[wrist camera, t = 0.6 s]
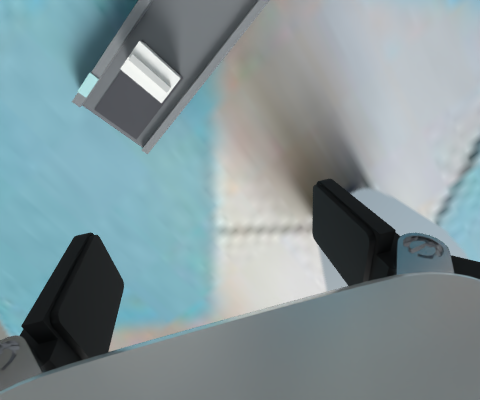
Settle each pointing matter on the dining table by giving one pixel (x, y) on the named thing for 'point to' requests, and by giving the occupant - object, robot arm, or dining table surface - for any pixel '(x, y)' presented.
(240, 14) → the switch board
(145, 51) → the tab
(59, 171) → the dining table surface
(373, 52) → the dining table surface
